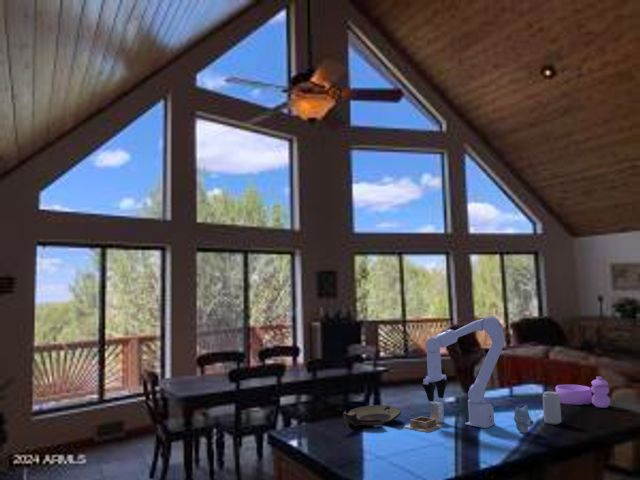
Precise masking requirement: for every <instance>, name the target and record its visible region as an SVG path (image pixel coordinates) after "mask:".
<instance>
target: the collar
mask: <svg viewBox="0 0 640 480" xmlns="http://www.w3.org/2000/svg"><path fill="white" fill-rule="evenodd" d="M441 428H444V426H443V424H437V419H434V418H430V417H429V416H428V417H427V416H417V417H414V418H412V419H409V424H407V425H405V426H404V429H408V430H414V431H418V432H422V433H430V432H432V431H435V430H438V429H441Z"/></svg>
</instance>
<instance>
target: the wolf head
mask: <svg viewBox="0 0 640 480" xmlns="http://www.w3.org/2000/svg"><path fill="white" fill-rule="evenodd" d="M513 420H514V423H515V427H516V430H518V432H520V433H523V434H527V433H528V431H529V428H531V427H533V426H534V425H535V422H534V421H533V419H532V418H531V416H530V413H529V409H528V405H527V404H526V405H524V406H523V407H520V406H515V408H514V416H513Z"/></svg>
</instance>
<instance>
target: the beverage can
mask: <svg viewBox="0 0 640 480" xmlns="http://www.w3.org/2000/svg"><path fill="white" fill-rule="evenodd" d="M542 405H543V406H542V409H543V421H544V422H545V423H546V424H548V425H559V424H561V423H562V410H561V403H560V396H559V395H558V393H557V392H556V391H552V390H551V391H543V394H542Z"/></svg>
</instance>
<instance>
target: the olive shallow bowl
mask: <svg viewBox="0 0 640 480" xmlns="http://www.w3.org/2000/svg"><path fill="white" fill-rule="evenodd" d="M401 413H402V410H401V409H400V408H399V407H396V406H395V405H389V404H388V405H387V404H377V405H376V404H375V405H365V406H359V407H356V408H353V409H351V410H349V411H348V412H347V413H346V412H343V413H342V417H344V418H345V419H346V420H347V421H349V422H350V424H352V425H353V426H356V427H358V426H369V427H371V426H380V425H384V424H388V423H390V422H392V421H394V420H396V419H397V418H399V417H400V415H401Z"/></svg>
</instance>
